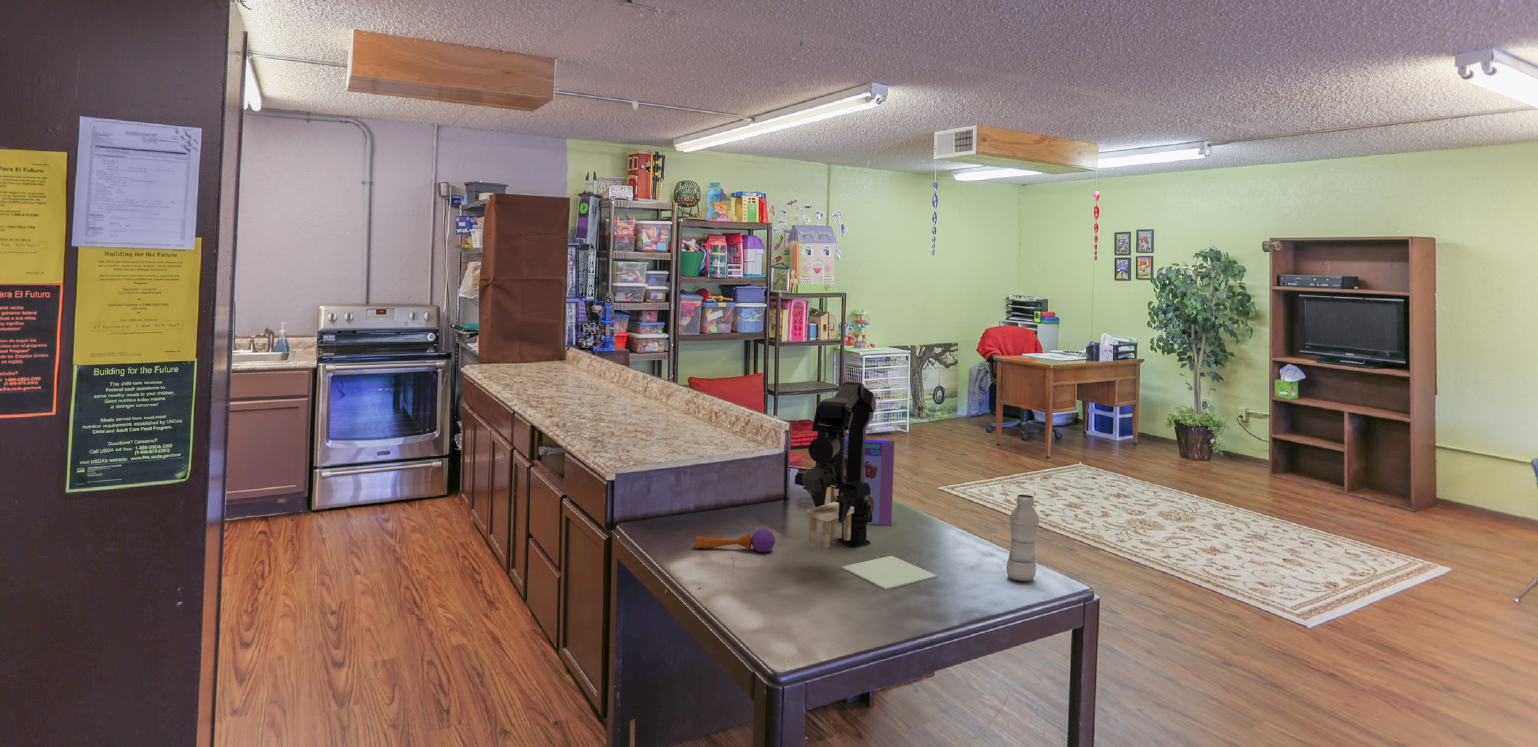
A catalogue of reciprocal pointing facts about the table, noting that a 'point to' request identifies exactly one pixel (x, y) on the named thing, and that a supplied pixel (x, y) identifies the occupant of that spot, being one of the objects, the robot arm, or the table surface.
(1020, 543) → the plastic bottle
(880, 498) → the cereal box
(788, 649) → the table surface
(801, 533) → the table surface
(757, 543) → the kendama
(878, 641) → the table surface
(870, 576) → the mat
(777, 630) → the table surface
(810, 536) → the beige wooden bench
